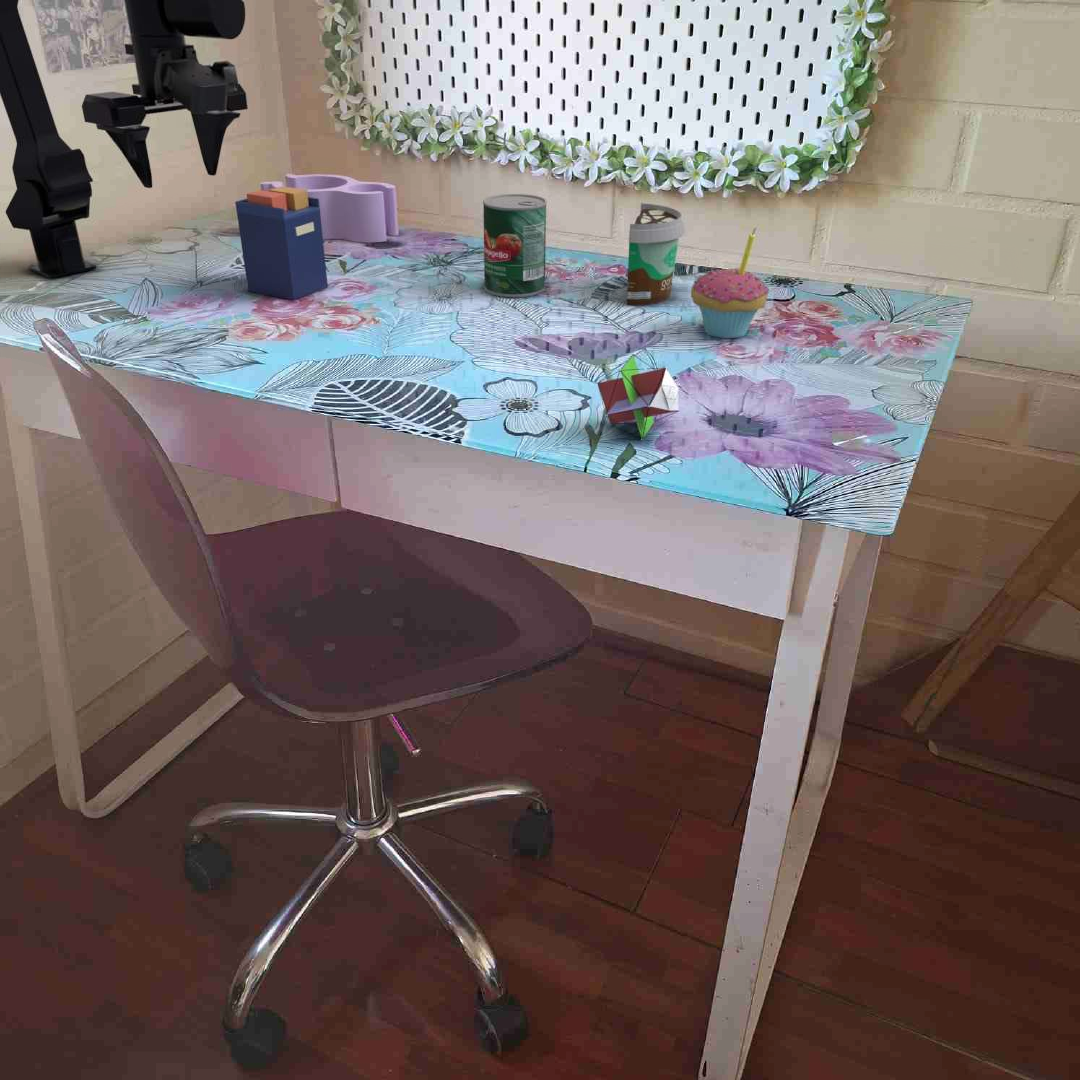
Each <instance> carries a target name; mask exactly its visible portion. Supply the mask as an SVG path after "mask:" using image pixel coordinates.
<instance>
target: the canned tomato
mask: <svg viewBox="0 0 1080 1080" xmlns="http://www.w3.org/2000/svg"><path fill="white" fill-rule="evenodd" d="M547 202H548V200H546V198H544V197H542V196H538V195H534V194H526V193H525V194H524V193H505V194H504V193H503V194H496V195H491V196H488V197H486V198H484V199H483V201H482V204H483V214H482V215H483V265H484V266H483V270H484V272H483V274H484V275H483V276H484V277H483V278H484V286H483V288H484V291H485V292H486V293H488V294H490V295H493V296H497V297H501V298H527V297H534V296H537V295H539V294H542V293H544V291H546V244H547V241H546V240H547V238H546V237H547V233H546V231H547V204H548V203H547Z"/></svg>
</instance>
